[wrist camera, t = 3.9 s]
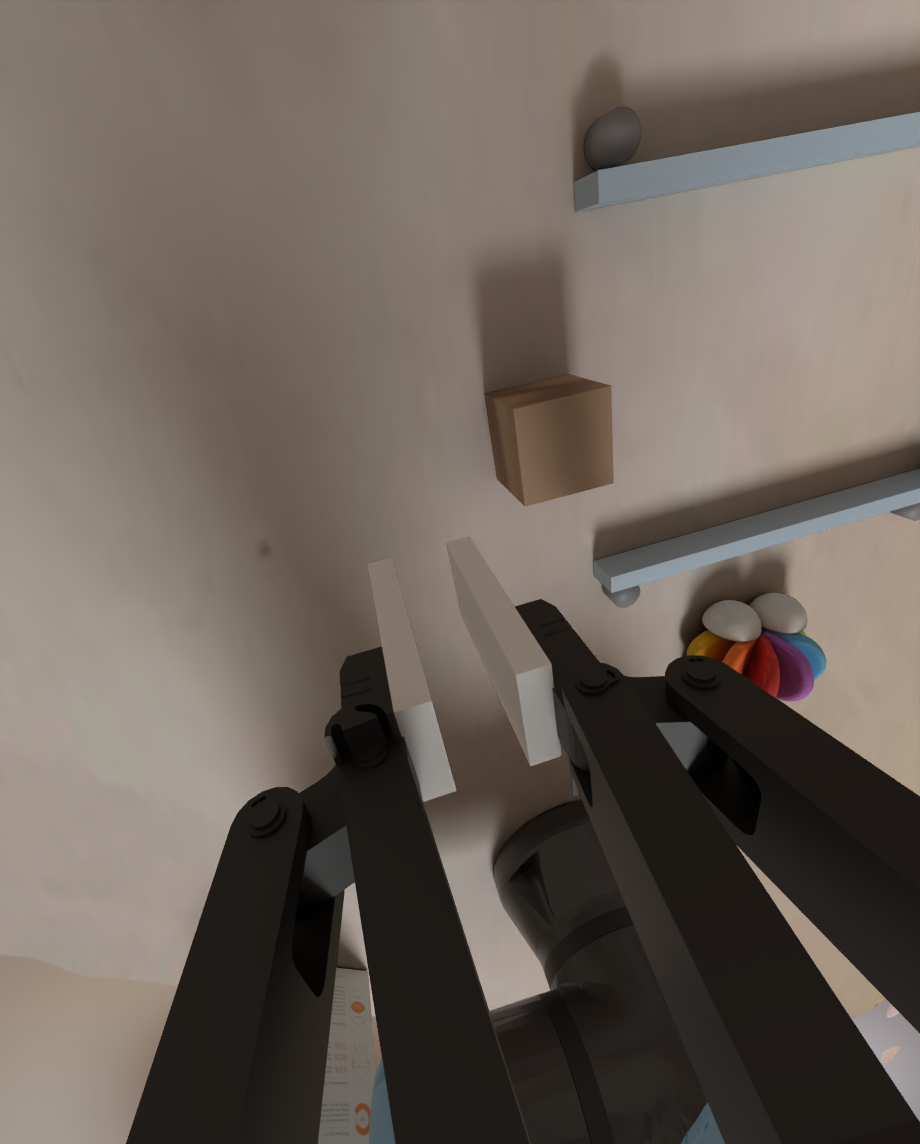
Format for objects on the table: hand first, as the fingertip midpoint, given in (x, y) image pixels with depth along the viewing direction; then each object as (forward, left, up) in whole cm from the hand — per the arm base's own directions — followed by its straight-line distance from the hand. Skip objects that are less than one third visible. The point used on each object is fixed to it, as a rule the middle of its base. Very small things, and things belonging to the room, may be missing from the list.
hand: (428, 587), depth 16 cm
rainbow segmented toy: (+24, -20, -15) cm, 35 cm away
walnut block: (+9, 0, -15) cm, 17 cm away
